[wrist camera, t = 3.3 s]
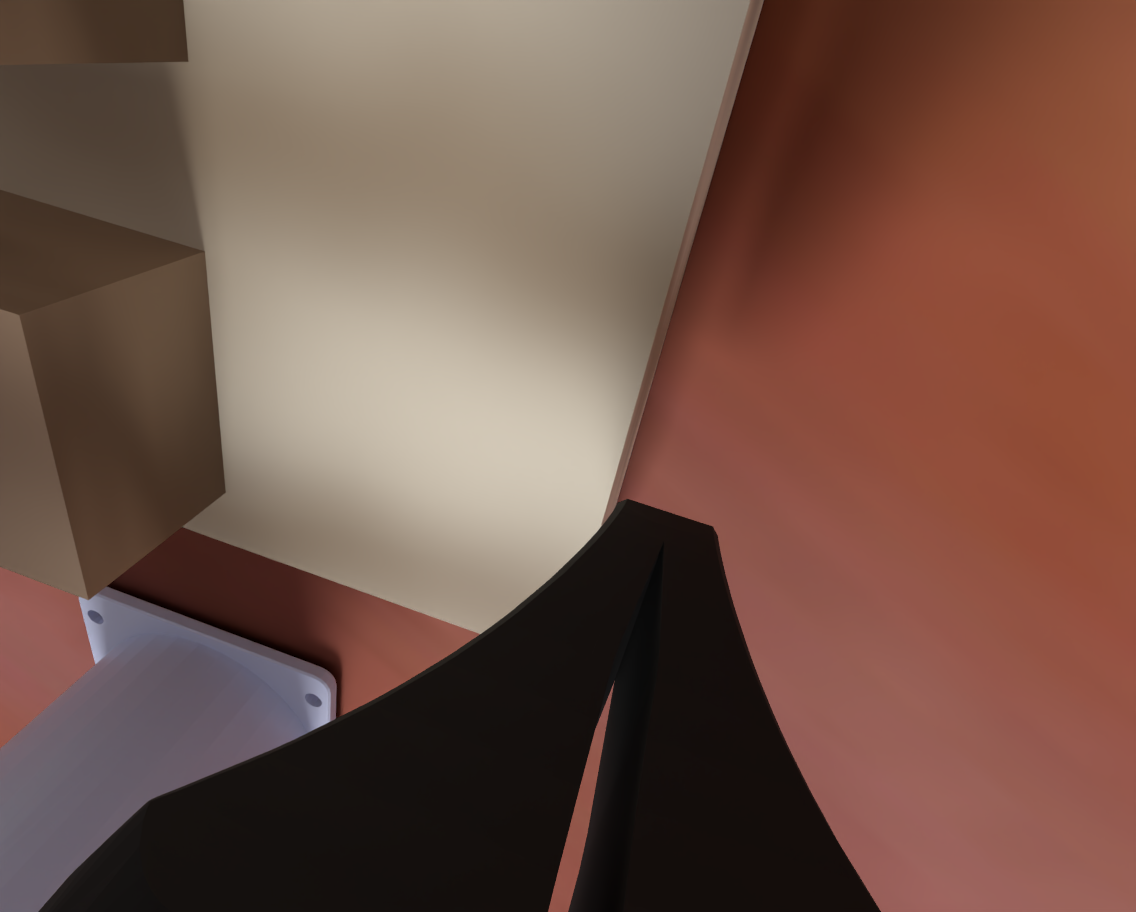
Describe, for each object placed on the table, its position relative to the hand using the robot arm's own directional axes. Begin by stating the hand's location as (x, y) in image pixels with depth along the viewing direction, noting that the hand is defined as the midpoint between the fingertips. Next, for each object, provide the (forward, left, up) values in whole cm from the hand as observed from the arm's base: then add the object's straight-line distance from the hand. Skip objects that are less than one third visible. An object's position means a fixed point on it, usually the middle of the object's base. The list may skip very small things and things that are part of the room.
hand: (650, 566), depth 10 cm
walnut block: (0, +10, -1) cm, 10 cm away
